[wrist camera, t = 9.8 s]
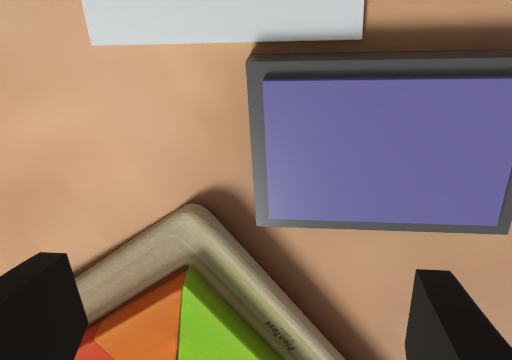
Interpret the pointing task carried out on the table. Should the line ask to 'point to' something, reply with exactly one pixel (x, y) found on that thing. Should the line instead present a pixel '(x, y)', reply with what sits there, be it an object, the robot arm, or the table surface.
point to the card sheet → (221, 21)
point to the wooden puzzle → (191, 300)
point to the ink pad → (383, 140)
